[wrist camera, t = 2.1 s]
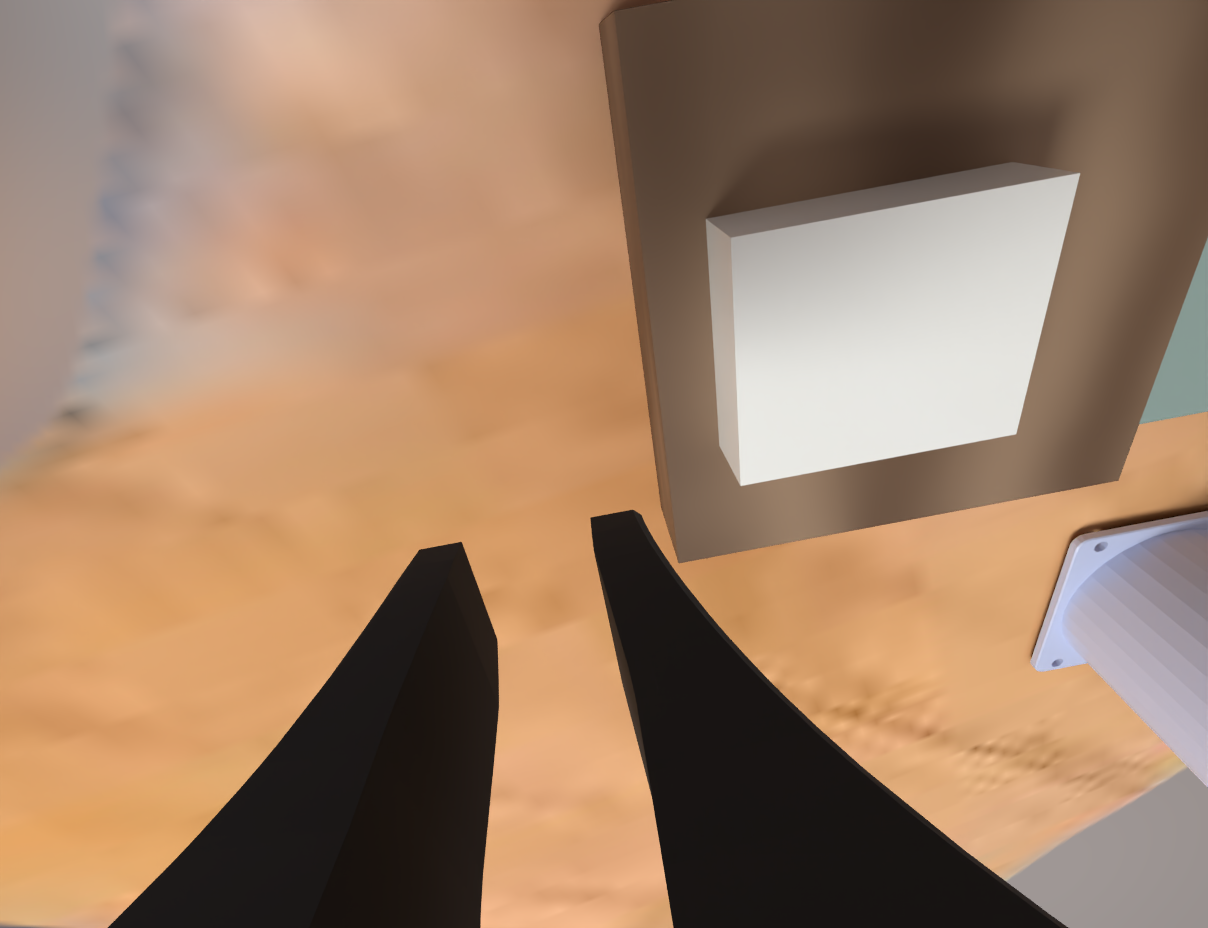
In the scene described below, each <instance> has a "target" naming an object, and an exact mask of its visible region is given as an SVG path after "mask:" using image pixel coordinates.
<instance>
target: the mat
mask: <svg viewBox="0 0 1208 928" xmlns="http://www.w3.org/2000/svg"><path fill="white" fill-rule="evenodd" d="M1207 411H1208V238H1207V241H1206V244H1205V246H1204V249H1203V252H1202V255H1201V257H1200V260H1199V263H1198V265H1197V268H1196V271H1195V274H1194V276H1193V279H1192V282H1191V284H1190V287H1189V290H1188V293H1187V295H1186V298H1185V301H1184V303H1183V306H1182V309H1181V312H1180V314H1179V317H1178V320H1177V322H1176V325H1175V328H1174V331H1173V333H1172V336H1171V339H1170V341H1169V344H1168V347H1167V350H1166V352H1165V355H1164V358H1163V360H1162V363H1161V366H1160V369H1159V371H1158V374H1157V377H1156V379H1155V382H1154V385H1153V388H1152V390H1151V393H1150V396H1149V398H1148V401H1147V404H1146V407H1145V409H1144V412H1143V415H1142V417H1141V420H1140V423H1139V424H1143V423H1148V422H1154V421H1159V420H1164V419H1170V418H1175V417H1180V416H1186V415H1191V414H1196V413H1202V412H1207Z"/></svg>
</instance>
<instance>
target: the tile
mask: <svg viewBox="0 0 1208 928" xmlns="http://www.w3.org/2000/svg"><path fill="white" fill-rule="evenodd" d="M1079 176H1080V173H1078V172H1072V171H1066V170H1059V169H1053V168H1047V167H1041V166H1034V165H1028V164H1022V163H1016V162H1009V163H1004V164H999V165H993V166H988V167H982V168H977V169H972V170H966V171H961V172H955V173H950V174H945V175H939V176H934V177H929V178H923V179H918V180H912V181H907V182H902V183H896V184H891V185H885V186H880V187H875V188H869V189H864V190H858V191H853V192H848V193H842V194H837V195H831V196H826V197H821V198H815V199H810V200H804V201H799V202H794V203H788V204H783V205H777V206H772V207H767V208H761V209H756V210H750V211H745V212H740V213H734V214H729V215H724V216H718V217H713V218H707V219H706V232H707V248H708V265H709V281H710V298H711V315H712V331H713V348H714V364H715V381H716V398H717V414H718V431H719V446H720V448H721V450H722V452H723V454H724V456H725V457H726V459H727V461H728V463H729V465H730V467H731V469H732V471H733V473H734V475H735V476H736V478H737V480H738V482H739V484H740V486H744V485H749V484H754V483H760V482H765V481H770V480H776V479H781V478H786V477H792V476H797V475H802V474H808V473H813V472H818V471H824V470H829V469H834V468H840V467H845V466H850V465H856V464H861V463H866V462H872V461H877V460H882V459H887V458H893V457H898V456H903V455H909V454H914V453H919V452H925V451H930V450H935V449H941V448H946V447H951V446H957V445H962V444H967V443H973V442H978V441H983V440H989V439H994V438H999V437H1005V436H1010V435H1015V434H1016V433H1017V429H1018V425H1019V421H1020V417H1021V413H1022V408H1023V404H1024V400H1025V396H1026V392H1027V388H1028V384H1029V380H1030V376H1031V372H1032V368H1033V364H1034V360H1035V356H1036V351H1037V347H1038V343H1039V339H1040V335H1041V331H1042V327H1043V323H1044V319H1045V315H1046V311H1047V307H1048V303H1049V299H1050V294H1051V290H1052V286H1053V282H1054V278H1055V274H1056V270H1057V266H1058V262H1059V258H1060V254H1061V250H1062V246H1063V242H1064V238H1065V233H1066V229H1067V225H1068V221H1069V217H1070V213H1071V209H1072V205H1073V201H1074V197H1075V193H1076V189H1077V185H1078V181H1079Z"/></svg>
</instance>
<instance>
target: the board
mask: <svg viewBox="0 0 1208 928" xmlns="http://www.w3.org/2000/svg"><path fill="white" fill-rule="evenodd" d="M599 30H600V37H601V45H602V53H603V61H604V68H605V76H606V84H607V92H608V99H609V107H610V115H611V123H612V130H613V138H614V146H615V154H616V161H617V169H618V177H619V184H620V192H621V200H622V208H623V215H624V223H625V231H626V239H627V246H628V254H629V262H630V270H631V277H632V285H633V293H634V301H635V308H636V316H637V324H638V332H639V339H640V347H641V355H642V363H643V370H644V378H645V386H646V394H647V401H648V409H649V417H650V425H651V432H652V440H653V448H654V456H655V463H656V471H657V479H658V486H659V494H660V502H661V508H662V511H663V515H664V518H665V521H666V524H667V527H668V531H669V534H670V537H671V540H672V543H673V547H674V550H675V553H676V556H677V559H678V563H683V562H688V561H694V560H699V559H704V558H710V557H715V556H720V555H725V554H731V553H736V552H741V551H747V550H752V549H757V548H763V547H768V546H773V545H779V544H784V543H789V542H794V541H800V540H805V539H810V538H816V537H821V536H826V535H832V534H837V533H842V532H848V531H853V530H858V529H863V528H869V527H874V526H879V525H885V524H890V523H895V522H901V521H906V520H911V519H917V518H922V517H927V516H933V515H938V514H943V513H948V512H954V511H959V510H964V509H970V508H975V507H980V506H986V505H991V504H996V503H1002V502H1007V501H1012V500H1017V499H1023V498H1028V497H1033V496H1039V495H1044V494H1049V493H1055V492H1060V491H1065V490H1071V489H1076V488H1081V487H1086V486H1092V485H1097V484H1102V483H1108V482H1113V481H1118V480H1119V477H1120V474H1121V472H1122V469H1123V466H1124V464H1125V461H1126V458H1127V455H1128V453H1129V450H1130V447H1131V445H1132V442H1133V439H1134V436H1135V434H1136V431H1137V428H1138V426H1139V423H1140V420H1141V417H1142V415H1143V412H1144V409H1145V407H1146V404H1147V401H1148V398H1149V396H1150V393H1151V390H1152V388H1153V385H1154V382H1155V379H1156V377H1157V374H1158V371H1159V369H1160V366H1161V363H1162V360H1163V358H1164V355H1165V352H1166V350H1167V347H1168V344H1169V341H1170V339H1171V336H1172V333H1173V331H1174V328H1175V325H1176V322H1177V320H1178V317H1179V314H1180V312H1181V309H1182V306H1183V303H1184V301H1185V298H1186V295H1187V293H1188V290H1189V287H1190V284H1191V282H1192V279H1193V276H1194V274H1195V271H1196V268H1197V265H1198V263H1199V260H1200V257H1201V255H1202V252H1203V249H1204V246H1205V244H1206V241H1207V238H1208V0H671V1H666V2H661V3H655V4H650V5H644V6H639V7H633V8H628V9H622V10H617V11H614V12H612V13H611V14H610V15H609V16H608V17H607V18H606V19H604V20H603V21H602V22H601V23H600V24H599ZM1009 162H1016V163H1022V164H1028V165H1034V166H1041V167H1047V168H1053V169H1059V170H1066V171H1072V172H1078V173H1080V176H1079V181H1078V185H1077V189H1076V193H1075V197H1074V201H1073V205H1072V209H1071V213H1070V217H1069V221H1068V225H1067V229H1066V233H1065V238H1064V242H1063V246H1062V250H1061V254H1060V258H1059V262H1058V266H1057V270H1056V274H1055V278H1054V282H1053V286H1052V290H1051V294H1050V299H1049V303H1048V307H1047V311H1046V315H1045V319H1044V323H1043V327H1042V331H1041V335H1040V339H1039V343H1038V347H1037V351H1036V356H1035V360H1034V364H1033V368H1032V372H1031V376H1030V380H1029V384H1028V388H1027V392H1026V396H1025V400H1024V404H1023V408H1022V413H1021V417H1020V421H1019V425H1018V429H1017V433H1016V434H1015V435H1010V436H1005V437H999V438H994V439H989V440H983V441H978V442H973V443H967V444H962V445H957V446H951V447H946V448H941V449H935V450H930V451H925V452H919V453H914V454H909V455H903V456H898V457H893V458H887V459H882V460H877V461H872V462H866V463H861V464H856V465H850V466H845V467H840V468H834V469H829V470H824V471H818V472H813V473H808V474H802V475H797V476H792V477H786V478H781V479H776V480H770V481H765V482H760V483H754V484H749V485H744V486H740V484H739V482H738V480H737V478H736V476H735V475H734V473H733V471H732V469H731V467H730V465H729V463H728V461H727V459H726V457H725V456H724V454H723V452H722V450H721V448H720V446H719V431H718V414H717V398H716V381H715V364H714V348H713V331H712V315H711V298H710V281H709V265H708V248H707V232H706V219H707V218H713V217H718V216H724V215H729V214H734V213H740V212H745V211H750V210H756V209H761V208H767V207H772V206H777V205H783V204H788V203H794V202H799V201H804V200H810V199H815V198H821V197H826V196H831V195H837V194H842V193H848V192H853V191H858V190H864V189H869V188H875V187H880V186H885V185H891V184H896V183H902V182H907V181H912V180H918V179H923V178H929V177H934V176H939V175H945V174H950V173H955V172H961V171H966V170H972V169H977V168H982V167H988V166H993V165H999V164H1004V163H1009Z"/></svg>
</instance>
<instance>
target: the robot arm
mask: <svg viewBox="0 0 1208 928" xmlns="http://www.w3.org/2000/svg"><path fill="white" fill-rule="evenodd" d="M591 528H592V538H593V547H594V553H595V558H596V562H597V567H598V572H599V576H600V581H601V586H602V590H603V595H604V600H605V604H606V609H607V614H608V618H609V623H610V628H611V632H612V637H613V642H614V646H615V651H616V656H617V660H618V665H619V670H620V674H621V679H622V683H623V687H624V691H625V695H626V699H627V703H628V707H629V710H630V714H631V718H632V722H633V726H634V730H635V734H636V737H637V741H638V745H639V749H640V753H641V757H642V760H643V764H644V768H645V772H646V776H647V780H648V784H649V787H650V791H651V795H652V799H653V805H654V811H655V817H656V824H657V830H658V836H659V842H660V848H661V854H662V860H663V866H664V872H665V878H666V884H667V890H668V896H669V902H670V908H671V915H672V921H673V927H674V928H1068V927H1066V926H1065V925H1064V924H1062V923H1061V922H1059V921H1058V920H1057V919H1055V918H1054V917H1052V916H1051V915H1050V914H1048V913H1047V912H1046V911H1044V910H1043V909H1042V908H1040V907H1039V906H1038V905H1036V904H1035V903H1034V902H1032V901H1031V900H1030V899H1028V898H1027V897H1026V896H1024V895H1023V894H1022V893H1020V892H1019V891H1018V890H1016V889H1015V888H1014V887H1012V886H1011V885H1010V884H1008V883H1007V882H1006V881H1004V880H1003V879H1002V878H1000V877H999V876H998V875H996V874H995V873H994V872H992V871H991V870H990V869H988V868H987V867H986V866H984V865H983V864H982V863H981V862H979V861H978V860H977V859H975V858H974V857H973V856H971V855H970V854H969V853H967V852H966V851H965V850H963V849H962V848H961V847H960V846H958V845H957V844H956V843H955V842H954V841H952V840H951V839H950V838H949V837H947V836H946V835H945V834H944V833H942V832H941V831H940V830H939V829H938V828H936V827H935V826H934V825H933V824H931V823H930V822H929V821H928V820H926V819H925V818H924V817H923V816H922V815H920V814H919V813H918V812H917V811H915V810H914V809H913V808H912V807H910V806H909V805H908V804H907V803H905V802H904V801H903V800H902V799H901V798H899V797H898V796H897V795H896V794H894V793H893V792H892V791H891V790H889V789H888V788H887V787H886V786H885V785H883V784H882V783H881V782H880V781H878V780H877V779H876V778H875V777H873V776H872V775H871V774H870V773H869V772H867V771H866V770H865V769H864V768H863V767H862V766H860V765H859V764H858V763H857V762H856V761H855V760H854V759H852V758H851V757H850V756H849V755H848V754H847V753H846V752H845V751H844V750H842V749H841V748H840V747H839V746H838V745H837V744H836V743H835V742H833V741H832V740H831V739H830V738H829V737H828V736H827V735H826V734H824V733H823V732H822V731H821V730H820V729H819V728H818V727H817V726H816V725H815V724H814V723H812V722H811V721H810V720H809V719H808V718H807V717H806V716H805V715H804V714H803V713H802V712H801V711H800V710H799V709H798V708H797V707H796V706H795V705H794V704H792V703H791V702H790V701H789V700H788V699H787V698H786V697H785V696H784V695H783V694H782V693H781V692H780V691H779V690H778V689H777V688H776V687H775V686H774V685H773V684H772V683H771V682H770V681H769V680H768V679H767V678H766V677H765V676H764V675H763V674H762V673H761V672H760V671H759V669H758V668H757V667H756V666H755V665H754V664H753V663H752V662H751V661H750V660H749V659H748V658H747V657H746V656H745V655H744V653H743V652H742V651H741V650H740V649H739V648H738V647H737V646H736V645H735V644H734V643H733V641H732V640H731V639H730V638H729V637H728V636H727V635H726V634H725V632H724V631H723V630H722V629H721V628H720V627H719V626H718V624H717V623H716V622H715V621H714V620H713V619H712V617H711V616H710V615H709V614H708V612H707V611H706V610H705V609H704V608H703V606H702V605H701V604H700V603H699V601H698V600H697V599H696V598H695V596H694V595H693V594H692V593H691V591H690V590H689V589H688V588H687V586H686V585H685V584H684V582H683V581H682V580H681V578H680V577H679V576H678V574H677V573H676V572H675V570H674V569H673V567H672V566H671V565H670V563H669V562H668V560H667V559H666V557H665V556H664V554H663V553H662V551H661V550H660V548H659V547H658V545H657V544H656V542H655V540H654V539H653V537H652V535H651V534H650V532H649V530H648V528H647V526H646V524H645V522H644V520H643V518H642V515H640V514H639V513H637V512H636V511H634V510H629V511H624V512H618V513H613V514H608V515H602V516H597V517H592V518H591ZM1085 663H1088V664H1089V665H1090V666H1091V667H1092V668H1093V669H1094V670H1095V671H1096V672H1097V673H1098V674H1099V675H1100V677H1101V678H1102V679H1103V680H1104V681H1105V682H1106V683H1107V684H1108V685H1109V686H1110V687H1111V688H1112V689H1113V690H1114V691H1115V692H1116V693H1117V694H1118V695H1119V696H1120V697H1121V698H1122V699H1123V700H1124V701H1125V702H1126V703H1127V704H1128V706H1129V707H1130V708H1131V709H1132V710H1133V711H1134V712H1135V713H1136V714H1137V715H1138V716H1139V717H1140V718H1141V719H1142V720H1143V721H1144V722H1145V723H1146V724H1147V725H1148V726H1149V727H1150V728H1151V729H1152V730H1153V731H1154V732H1155V734H1156V735H1157V736H1158V737H1159V738H1160V739H1161V740H1162V741H1163V742H1164V743H1165V744H1166V745H1167V746H1168V747H1169V748H1170V749H1171V750H1172V751H1173V752H1174V753H1175V754H1176V755H1177V756H1178V757H1179V758H1180V759H1181V760H1182V762H1183V763H1184V764H1185V765H1186V766H1187V767H1188V768H1189V769H1190V770H1191V771H1192V772H1193V773H1194V774H1195V775H1196V776H1197V777H1198V778H1199V779H1200V780H1201V781H1202V782H1203V783H1204V784H1205V785H1206V786H1207V787H1208V511H1203V512H1198V513H1193V514H1188V515H1182V516H1177V517H1172V518H1166V519H1161V520H1156V521H1150V522H1145V523H1140V524H1135V525H1129V526H1124V527H1119V528H1113V529H1108V530H1103V531H1097V532H1092V533H1087V534H1083V535H1080V536H1078V537H1076V538H1075V539H1074V540H1073V541H1072V542H1071V544H1070V546H1069V549H1068V552H1067V555H1066V558H1065V561H1064V564H1063V567H1062V570H1061V573H1060V576H1059V579H1058V581H1057V584H1056V587H1055V590H1054V593H1053V596H1052V599H1051V602H1050V605H1049V608H1048V611H1047V614H1046V617H1045V620H1044V623H1043V626H1042V629H1041V632H1040V634H1039V637H1038V640H1037V643H1036V646H1035V649H1034V652H1033V655H1032V658H1031V665H1032V666H1033V667H1034V668H1035V669H1036V670H1037V671H1049V670H1054V669H1059V668H1064V667H1070V666H1075V665H1080V664H1085ZM498 711H499V678H498V645H497V638H496V635H495V632H494V629H493V627H492V624H491V621H490V618H489V616H488V613H487V610H486V607H485V605H484V602H483V599H482V596H481V594H480V591H479V588H478V586H477V583H476V580H475V577H474V575H473V572H472V569H471V566H470V564H469V561H468V558H467V555H466V553H465V550H464V547H463V544H462V542H458V543H453V544H448V545H442V546H437V547H432V548H427V549H421V550H419V551H418V553H417V554H416V556H415V557H414V558H413V560H412V561H411V563H410V564H409V565H408V567H407V568H406V569H405V571H404V572H403V574H402V575H401V577H400V578H399V580H398V581H397V583H396V584H395V585H394V587H393V588H392V590H391V591H390V593H389V594H388V596H387V597H386V599H385V600H384V602H383V603H382V604H381V606H380V607H379V609H378V610H377V612H376V613H375V615H374V616H373V618H372V619H371V620H370V622H369V623H368V625H367V626H366V628H365V629H364V631H363V632H362V633H361V635H360V636H359V637H358V639H357V640H356V642H355V643H354V644H353V646H352V647H351V649H350V650H349V651H348V653H347V654H346V656H345V657H344V658H343V660H342V661H341V663H340V664H339V665H338V667H337V668H336V670H335V671H334V672H333V674H332V675H331V676H330V678H329V679H328V680H327V682H326V683H325V684H324V686H323V687H322V688H321V690H320V691H319V692H318V693H317V695H316V696H315V697H314V699H313V700H312V701H311V702H310V704H309V705H308V706H307V708H306V709H305V710H304V711H303V713H302V714H301V715H300V717H299V718H298V719H297V720H296V722H295V723H294V724H293V725H292V727H291V728H290V729H289V731H288V732H287V733H286V734H285V736H284V737H283V738H282V740H281V741H280V742H279V743H278V745H277V746H276V747H275V748H274V749H273V751H272V752H271V753H270V754H269V755H268V757H267V758H266V759H265V760H264V761H263V763H262V764H261V765H260V766H259V767H258V769H257V770H256V771H255V772H254V773H253V774H252V775H251V777H250V778H249V779H248V780H247V781H246V782H245V784H244V785H243V786H242V787H241V788H240V789H239V791H238V792H237V793H236V794H235V795H234V796H233V797H232V798H231V799H230V801H229V802H228V803H227V804H226V805H225V806H224V807H223V808H222V809H221V810H220V812H219V813H218V814H217V815H216V816H215V817H214V818H213V819H212V820H211V822H210V823H209V824H208V825H207V826H206V827H205V828H204V829H203V830H202V832H201V833H200V834H199V835H198V836H197V837H196V838H195V839H194V840H193V841H192V842H191V843H190V845H189V846H188V847H187V848H186V849H185V850H184V851H183V852H182V853H181V854H180V855H179V856H178V857H177V858H176V859H175V860H174V861H173V862H172V863H171V864H170V865H169V866H168V867H167V868H166V870H165V871H164V872H163V873H162V874H161V875H160V876H159V877H158V878H157V879H156V880H155V881H154V882H153V883H152V884H151V885H150V886H149V887H148V888H147V889H146V890H145V891H144V892H143V893H142V894H141V895H140V896H139V897H138V898H137V899H136V900H135V901H134V902H133V903H132V904H131V905H130V906H129V907H128V908H127V909H126V910H125V911H124V912H123V913H122V914H121V915H120V916H119V917H118V918H117V919H116V920H115V921H114V922H113V923H112V924H111V925H110V926H109V927H108V928H480V917H481V898H482V881H483V868H484V858H485V847H486V837H487V827H488V817H489V806H490V796H491V786H492V776H493V766H494V755H495V744H496V733H497V722H498Z"/></svg>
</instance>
